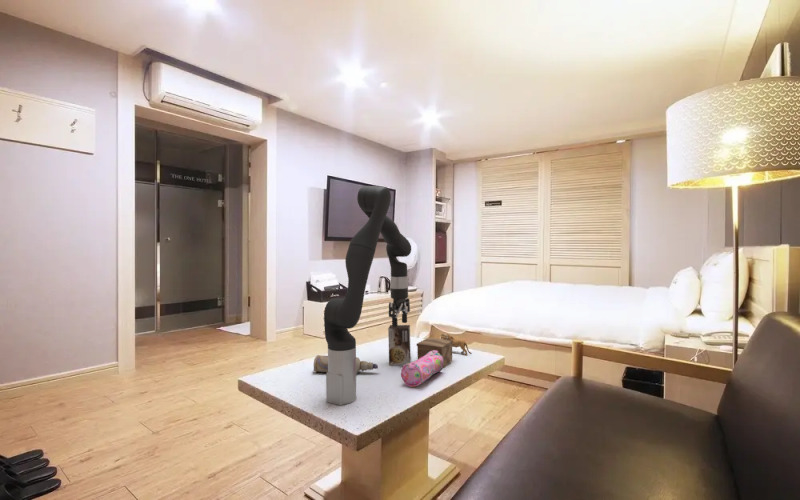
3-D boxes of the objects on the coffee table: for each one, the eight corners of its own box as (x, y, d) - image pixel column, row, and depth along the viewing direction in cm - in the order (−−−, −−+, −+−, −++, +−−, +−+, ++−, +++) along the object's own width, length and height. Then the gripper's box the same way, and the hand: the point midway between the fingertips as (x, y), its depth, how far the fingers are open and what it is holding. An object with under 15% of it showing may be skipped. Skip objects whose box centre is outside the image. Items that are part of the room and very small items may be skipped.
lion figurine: (439, 353, 174) (439, 334, 174) (442, 350, 179) (441, 331, 179) (470, 356, 169) (470, 336, 169) (472, 353, 174) (472, 334, 174)
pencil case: (425, 368, 153) (425, 347, 153) (446, 372, 148) (446, 350, 148) (398, 386, 135) (398, 361, 135) (421, 390, 130) (420, 365, 130)
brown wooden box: (442, 369, 152) (441, 347, 152) (416, 364, 158) (416, 343, 158) (453, 360, 163) (453, 340, 163) (429, 357, 169) (428, 337, 169)
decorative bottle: (312, 374, 147) (311, 358, 147) (319, 368, 155) (318, 352, 155) (375, 377, 143) (375, 360, 143) (379, 371, 151) (379, 354, 151)
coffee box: (411, 361, 162) (410, 324, 162) (409, 366, 156) (409, 328, 156) (390, 361, 163) (389, 324, 163) (388, 365, 157) (388, 327, 157)
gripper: (398, 289, 151) (399, 329, 151) (414, 285, 164) (415, 322, 164) (383, 288, 155) (383, 327, 155) (399, 284, 167) (400, 320, 167)
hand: (399, 324), depth 159 cm, fingers open, 8 cm apart
